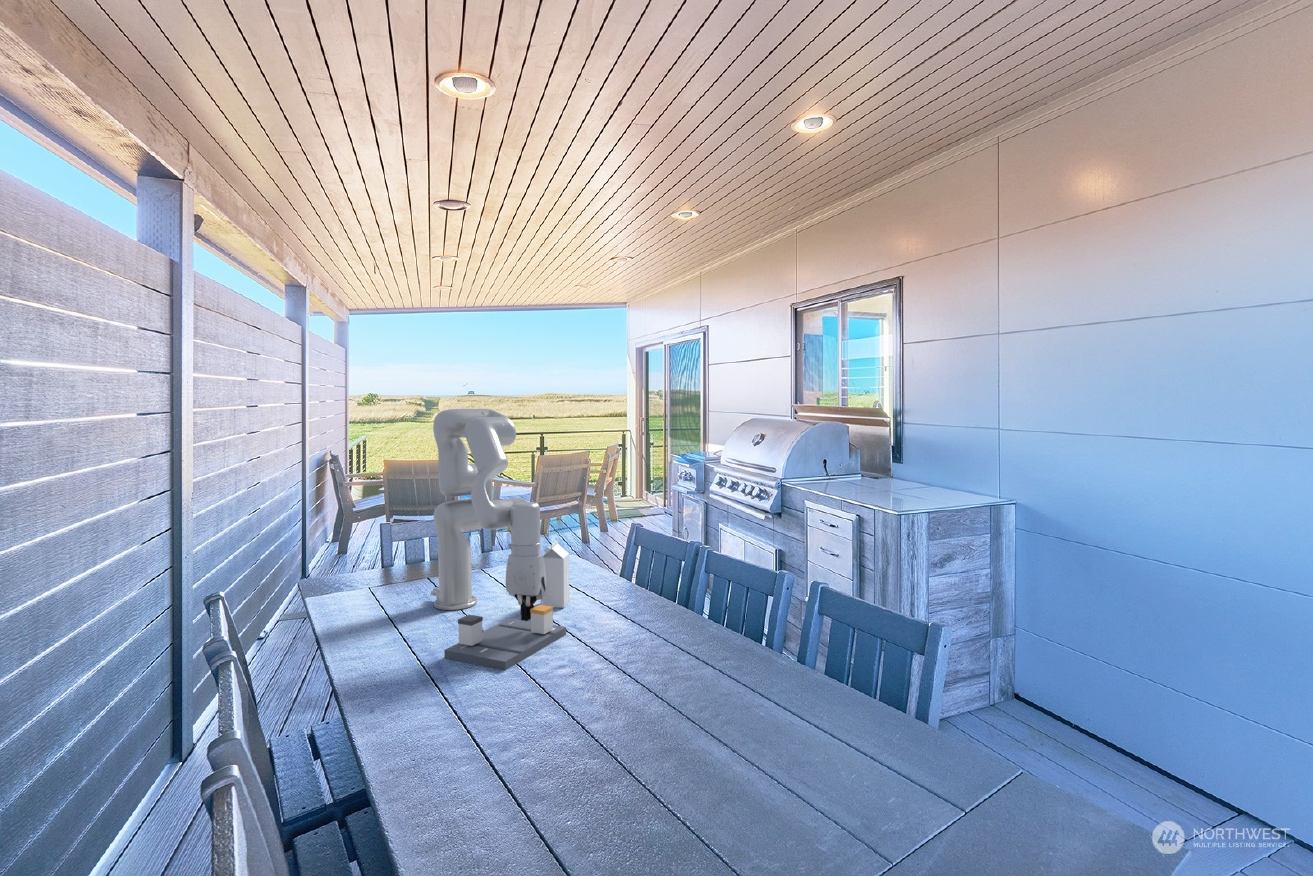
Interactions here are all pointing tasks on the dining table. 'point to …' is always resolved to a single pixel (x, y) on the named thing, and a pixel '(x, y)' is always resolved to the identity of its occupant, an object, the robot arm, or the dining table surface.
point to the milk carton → (556, 576)
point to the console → (504, 644)
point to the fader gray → (470, 630)
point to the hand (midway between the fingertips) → (527, 619)
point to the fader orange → (541, 619)
